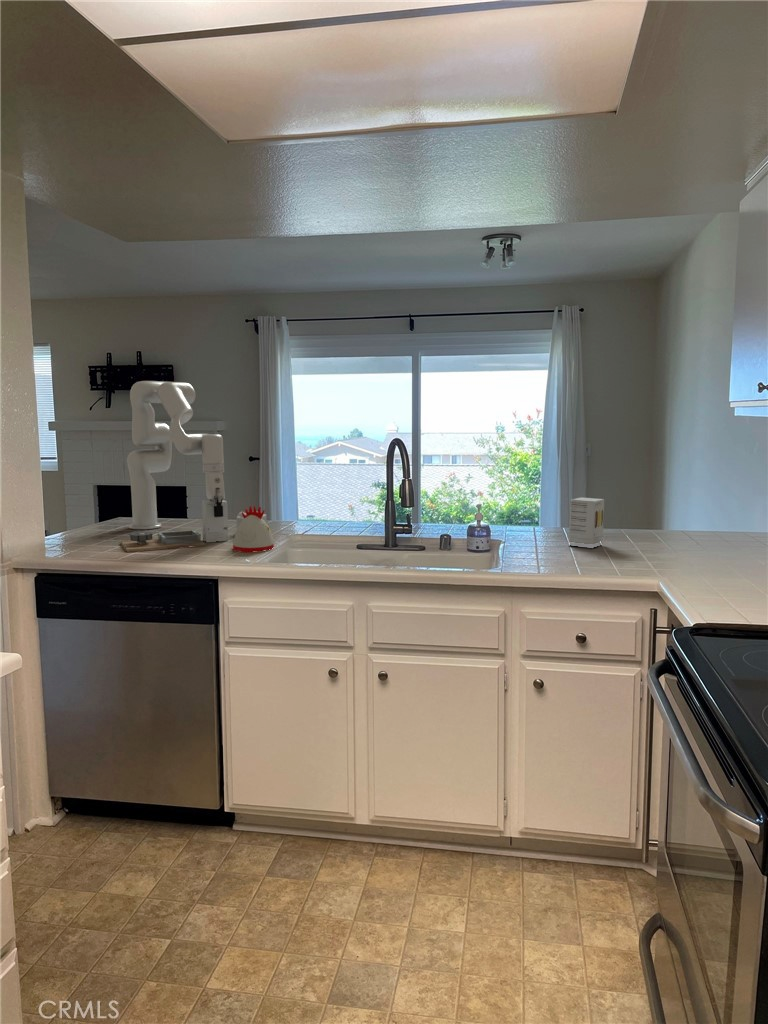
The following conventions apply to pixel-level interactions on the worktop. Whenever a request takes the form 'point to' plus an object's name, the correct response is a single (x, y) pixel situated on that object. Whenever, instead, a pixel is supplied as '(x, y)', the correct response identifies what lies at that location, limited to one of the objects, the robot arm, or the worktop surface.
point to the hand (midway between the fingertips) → (215, 515)
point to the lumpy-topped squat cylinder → (240, 518)
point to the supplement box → (586, 520)
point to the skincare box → (214, 522)
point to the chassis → (165, 541)
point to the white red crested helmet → (253, 533)
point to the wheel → (141, 536)
